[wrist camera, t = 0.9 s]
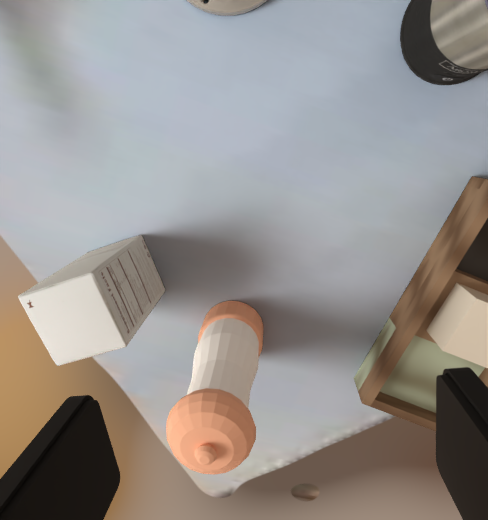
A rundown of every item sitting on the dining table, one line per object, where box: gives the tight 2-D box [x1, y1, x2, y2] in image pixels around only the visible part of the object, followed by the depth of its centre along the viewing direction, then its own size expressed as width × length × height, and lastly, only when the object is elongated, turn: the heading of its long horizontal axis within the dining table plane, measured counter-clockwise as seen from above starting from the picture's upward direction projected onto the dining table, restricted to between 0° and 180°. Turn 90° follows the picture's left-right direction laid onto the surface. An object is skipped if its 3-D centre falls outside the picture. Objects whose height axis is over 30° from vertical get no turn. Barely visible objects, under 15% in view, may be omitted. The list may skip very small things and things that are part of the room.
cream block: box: [426, 283, 488, 368], centre depth 37 cm, size 6×6×4 cm
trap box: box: [354, 176, 488, 431], centre depth 39 cm, size 26×12×4 cm, turn 159°
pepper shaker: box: [166, 301, 263, 474], centre depth 35 cm, size 7×7×19 cm
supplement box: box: [18, 235, 165, 366], centre depth 37 cm, size 7×7×13 cm
